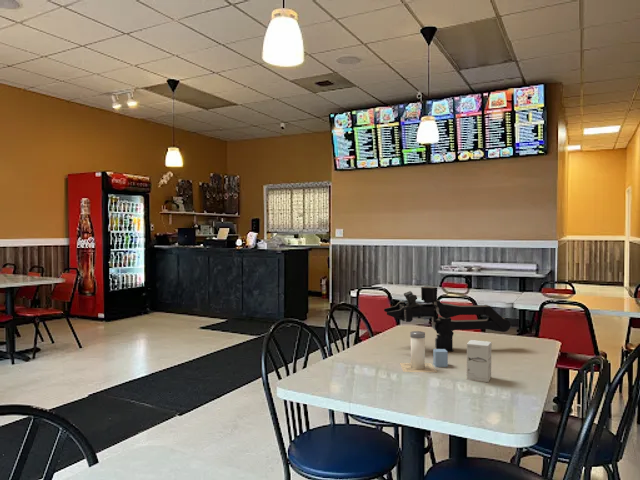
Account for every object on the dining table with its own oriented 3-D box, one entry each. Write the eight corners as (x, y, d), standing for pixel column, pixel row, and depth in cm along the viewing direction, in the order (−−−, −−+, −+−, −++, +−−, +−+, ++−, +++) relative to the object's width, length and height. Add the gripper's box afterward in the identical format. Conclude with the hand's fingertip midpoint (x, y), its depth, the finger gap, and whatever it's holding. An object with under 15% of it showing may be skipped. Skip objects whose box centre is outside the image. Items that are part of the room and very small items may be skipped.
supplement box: (466, 380, 167) (465, 343, 167) (470, 374, 174) (470, 339, 174) (488, 383, 164) (488, 345, 164) (491, 377, 170) (491, 341, 170)
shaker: (423, 365, 185) (423, 331, 185) (426, 369, 180) (426, 334, 180) (409, 365, 185) (409, 331, 185) (411, 369, 180) (411, 334, 180)
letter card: (430, 363, 188) (430, 363, 188) (437, 372, 176) (437, 371, 176) (399, 363, 189) (399, 363, 189) (403, 372, 177) (403, 371, 177)
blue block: (445, 364, 187) (445, 349, 187) (447, 367, 183) (447, 351, 183) (433, 364, 187) (433, 349, 187) (435, 367, 183) (435, 351, 183)
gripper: (417, 289, 220) (382, 290, 220) (425, 294, 201) (387, 295, 201) (417, 314, 220) (383, 315, 220) (426, 321, 201) (388, 322, 202)
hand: (385, 311), depth 211 cm, fingers open, 9 cm apart
